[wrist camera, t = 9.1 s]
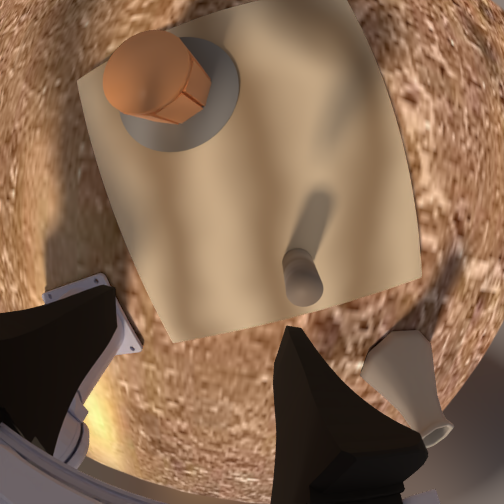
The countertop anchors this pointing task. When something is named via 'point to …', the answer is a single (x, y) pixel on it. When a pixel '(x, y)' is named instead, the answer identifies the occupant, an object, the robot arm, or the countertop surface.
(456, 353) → the countertop surface
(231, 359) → the countertop surface
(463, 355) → the countertop surface
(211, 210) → the board
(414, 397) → the flask
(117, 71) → the orange domed tapered piece
